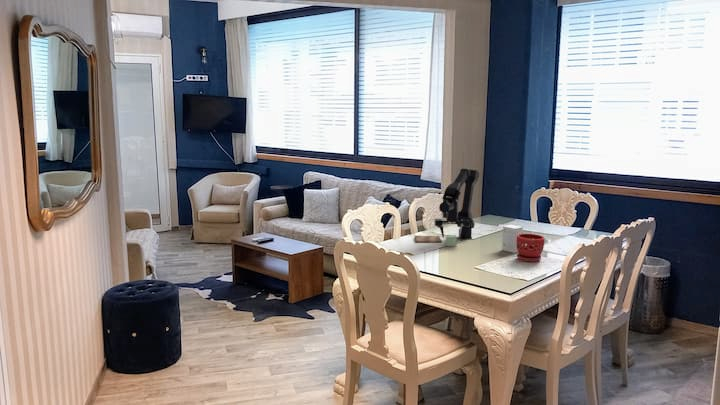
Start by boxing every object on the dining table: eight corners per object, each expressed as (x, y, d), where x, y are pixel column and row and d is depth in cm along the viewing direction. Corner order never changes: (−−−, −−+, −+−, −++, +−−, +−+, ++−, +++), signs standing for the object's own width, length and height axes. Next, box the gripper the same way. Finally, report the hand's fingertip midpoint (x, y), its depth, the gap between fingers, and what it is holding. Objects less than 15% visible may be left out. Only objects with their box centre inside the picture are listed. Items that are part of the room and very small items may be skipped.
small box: (522, 251, 290) (523, 226, 288) (514, 253, 286) (515, 228, 284) (509, 248, 296) (510, 224, 294) (501, 250, 292) (502, 226, 290)
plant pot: (539, 264, 267) (540, 240, 264) (512, 260, 273) (513, 237, 271) (546, 258, 277) (547, 234, 275) (520, 254, 284) (521, 231, 282)
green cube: (455, 243, 307) (455, 234, 306) (456, 246, 302) (456, 237, 301) (446, 243, 307) (446, 234, 306) (447, 246, 302) (447, 237, 301)
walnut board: (439, 237, 320) (439, 235, 320) (441, 242, 308) (441, 240, 308) (414, 237, 321) (414, 235, 320) (416, 242, 309) (416, 240, 309)
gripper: (467, 206, 308) (466, 234, 311) (433, 206, 309) (433, 234, 312) (470, 210, 297) (469, 239, 300) (435, 210, 298) (435, 239, 301)
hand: (451, 237), depth 304 cm, fingers open, 9 cm apart
